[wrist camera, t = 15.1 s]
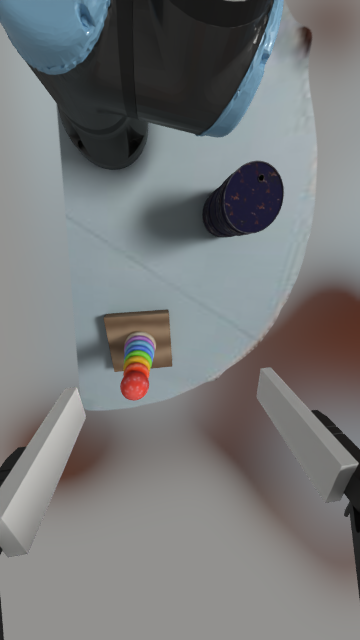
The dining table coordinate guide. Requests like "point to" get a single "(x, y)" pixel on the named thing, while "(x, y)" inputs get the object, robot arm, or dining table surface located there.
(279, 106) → the dining table surface
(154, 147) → the dining table surface
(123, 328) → the walnut base
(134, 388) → the stacking toy
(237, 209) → the storage jar
